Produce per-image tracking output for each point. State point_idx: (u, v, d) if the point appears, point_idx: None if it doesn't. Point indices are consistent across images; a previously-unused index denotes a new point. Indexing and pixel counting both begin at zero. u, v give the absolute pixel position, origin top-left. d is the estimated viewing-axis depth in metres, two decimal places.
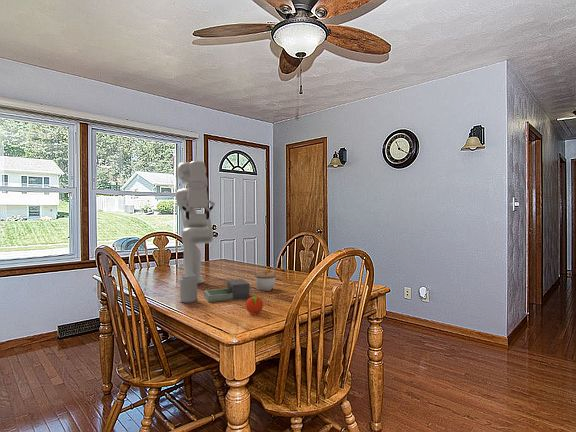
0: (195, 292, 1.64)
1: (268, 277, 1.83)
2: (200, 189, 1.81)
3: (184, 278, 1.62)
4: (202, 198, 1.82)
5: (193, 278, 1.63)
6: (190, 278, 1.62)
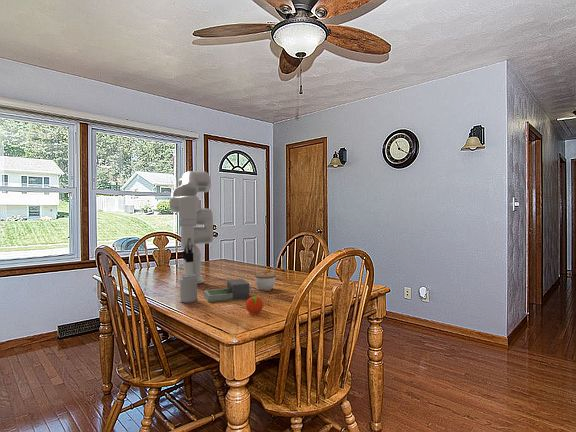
0: (195, 292, 1.64)
1: (268, 277, 1.83)
2: None
3: (184, 278, 1.62)
4: None
5: (193, 278, 1.63)
6: (190, 278, 1.62)
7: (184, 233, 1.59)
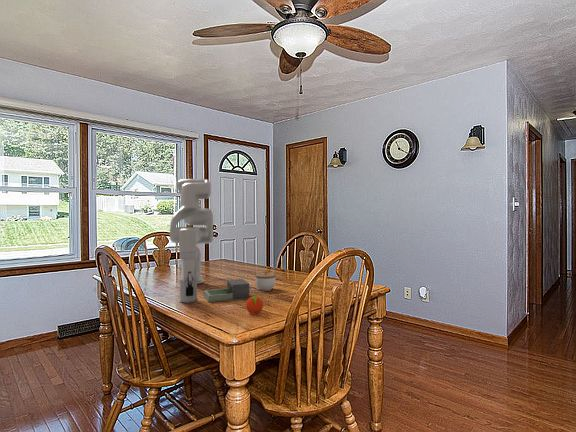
0: (195, 292, 1.64)
1: (268, 277, 1.83)
2: None
3: None
4: None
5: None
6: None
7: (184, 266, 1.59)
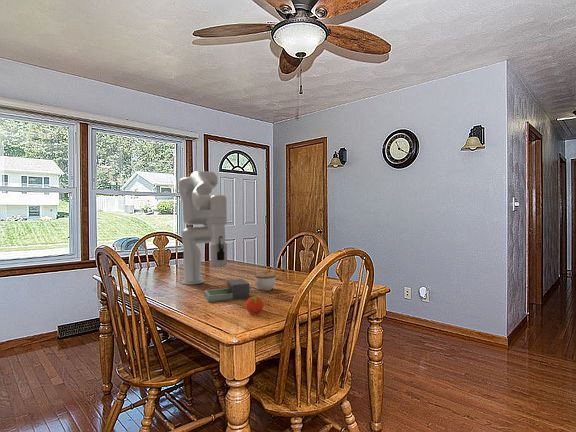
0: (225, 257, 1.69)
1: (268, 277, 1.83)
2: None
3: None
4: None
5: None
6: None
7: (216, 231, 1.64)
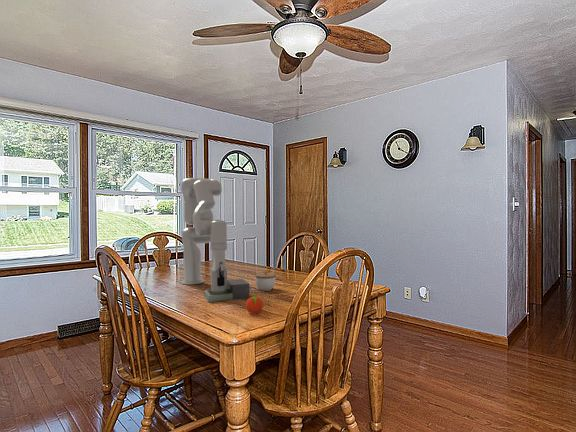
0: (226, 282, 1.69)
1: (268, 277, 1.83)
2: None
3: None
4: None
5: None
6: None
7: (216, 257, 1.65)
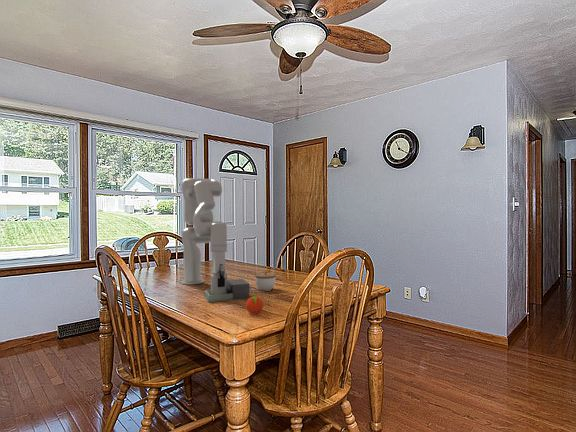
0: (226, 288, 1.69)
1: (268, 277, 1.83)
2: None
3: (215, 274, 1.67)
4: None
5: None
6: None
7: (216, 259, 1.65)
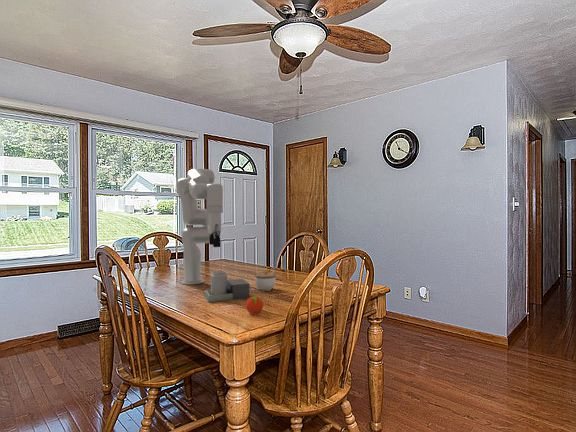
0: (226, 288, 1.69)
1: (268, 277, 1.83)
2: None
3: (215, 274, 1.67)
4: None
5: (224, 274, 1.68)
6: (221, 274, 1.67)
7: (212, 219, 1.66)
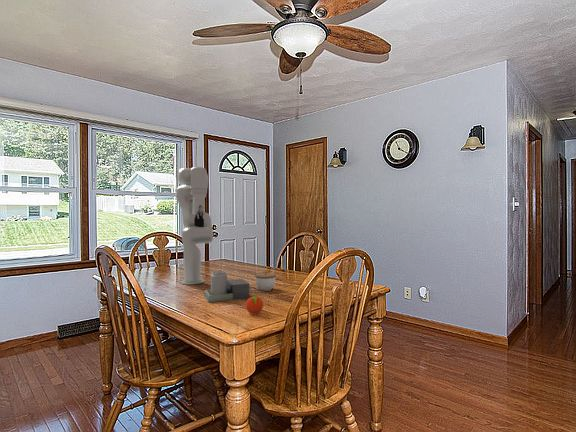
0: (226, 288, 1.69)
1: (268, 277, 1.83)
2: None
3: (215, 274, 1.67)
4: None
5: (224, 274, 1.68)
6: (221, 274, 1.67)
7: (195, 200, 1.74)
